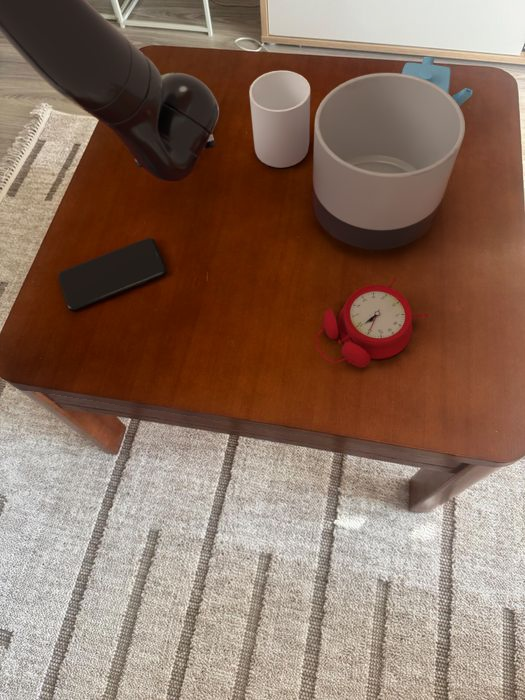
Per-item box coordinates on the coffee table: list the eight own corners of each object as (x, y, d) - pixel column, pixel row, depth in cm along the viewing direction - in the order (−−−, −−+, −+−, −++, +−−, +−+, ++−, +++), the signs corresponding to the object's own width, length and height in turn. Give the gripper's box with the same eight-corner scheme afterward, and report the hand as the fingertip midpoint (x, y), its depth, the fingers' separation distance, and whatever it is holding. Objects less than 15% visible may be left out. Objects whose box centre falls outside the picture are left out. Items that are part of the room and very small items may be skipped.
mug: (247, 164, 91) (241, 106, 80) (267, 117, 96) (264, 56, 85) (301, 174, 89) (301, 116, 78) (318, 125, 94) (320, 64, 83)
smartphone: (70, 314, 79) (169, 275, 81) (68, 311, 78) (168, 271, 80) (58, 275, 82) (153, 238, 84) (55, 272, 82) (152, 234, 84)
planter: (311, 262, 81) (314, 177, 65) (311, 169, 89) (314, 73, 73) (440, 262, 79) (475, 175, 63) (427, 167, 88) (456, 69, 72)
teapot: (386, 88, 97) (395, 34, 88) (464, 97, 95) (482, 43, 86) (369, 158, 90) (377, 107, 81) (453, 170, 87) (471, 119, 78)
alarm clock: (439, 318, 71) (353, 362, 65) (421, 344, 76) (340, 387, 70) (390, 266, 75) (306, 303, 69) (377, 294, 80) (297, 330, 74)
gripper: (213, 100, 70) (205, 118, 87) (117, 126, 69) (127, 139, 86) (229, 158, 73) (218, 164, 89) (136, 184, 72) (143, 185, 88)
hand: (174, 152), depth 87 cm, fingers closed
